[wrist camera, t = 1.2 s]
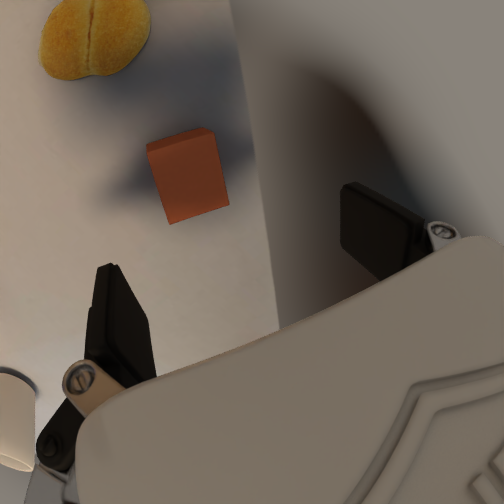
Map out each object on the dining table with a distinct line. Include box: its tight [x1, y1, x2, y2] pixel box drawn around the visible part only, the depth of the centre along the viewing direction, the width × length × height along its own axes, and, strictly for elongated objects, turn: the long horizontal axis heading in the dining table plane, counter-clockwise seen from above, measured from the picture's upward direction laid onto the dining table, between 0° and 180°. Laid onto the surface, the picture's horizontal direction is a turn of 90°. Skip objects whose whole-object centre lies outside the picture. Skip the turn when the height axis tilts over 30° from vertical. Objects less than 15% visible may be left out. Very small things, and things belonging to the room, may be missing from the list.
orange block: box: [146, 127, 229, 225], centre depth 21 cm, size 5×6×4 cm
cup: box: [0, 373, 35, 471], centre depth 21 cm, size 8×8×14 cm
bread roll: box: [38, 0, 151, 80], centre depth 12 cm, size 8×9×4 cm
